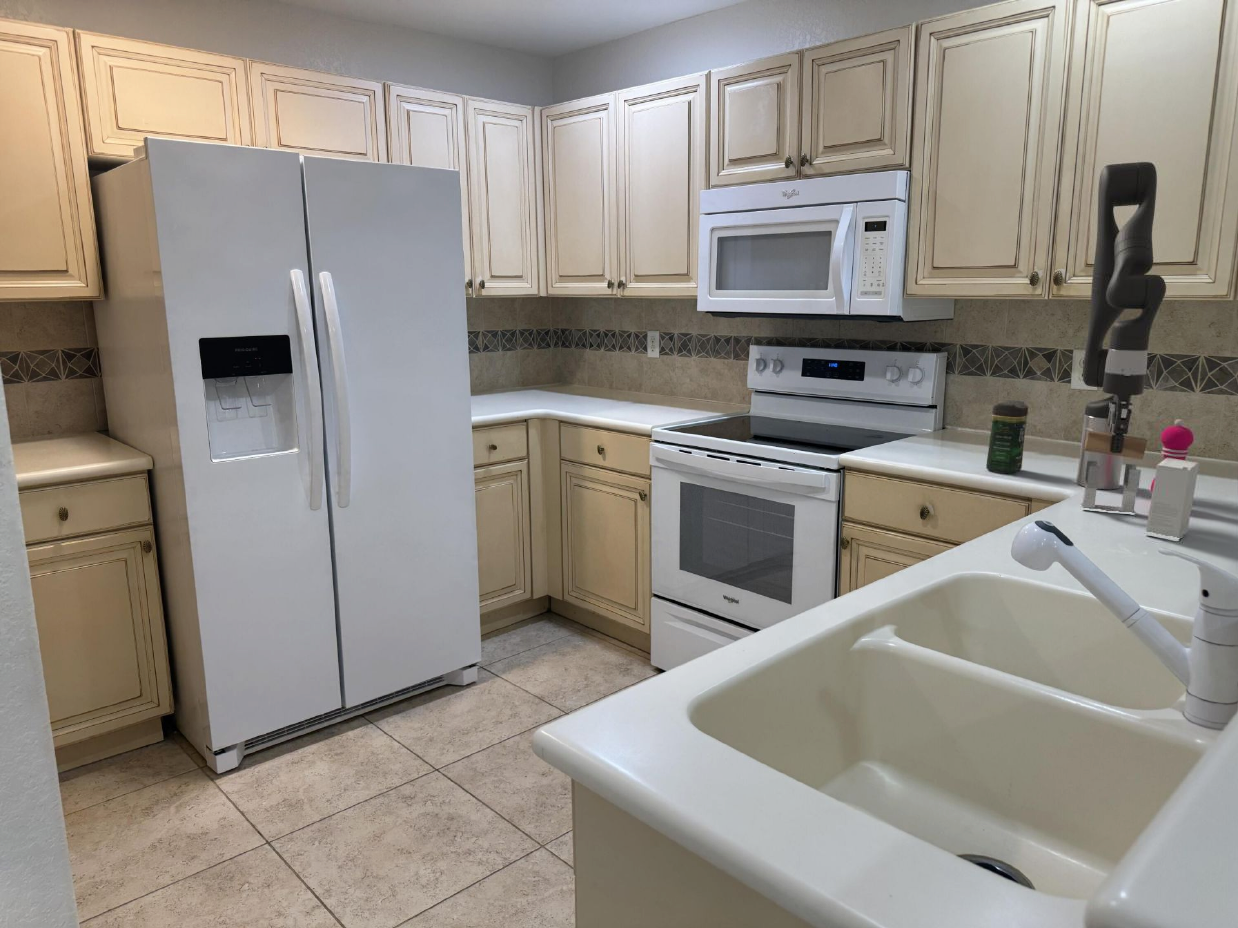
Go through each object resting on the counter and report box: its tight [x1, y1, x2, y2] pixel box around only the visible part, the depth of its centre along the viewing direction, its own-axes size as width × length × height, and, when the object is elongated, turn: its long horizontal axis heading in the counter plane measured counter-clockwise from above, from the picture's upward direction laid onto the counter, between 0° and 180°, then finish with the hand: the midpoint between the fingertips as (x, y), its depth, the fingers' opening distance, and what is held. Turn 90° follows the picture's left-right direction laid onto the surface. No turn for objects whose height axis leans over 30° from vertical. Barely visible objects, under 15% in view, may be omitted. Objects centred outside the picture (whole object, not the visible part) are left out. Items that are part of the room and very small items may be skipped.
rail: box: [1084, 430, 1148, 460], centre depth 186 cm, size 4×11×4 cm, turn 67°
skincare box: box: [1145, 458, 1200, 538], centre depth 169 cm, size 8×6×15 cm
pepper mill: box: [1150, 418, 1195, 493], centre depth 189 cm, size 7×7×20 cm
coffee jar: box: [985, 400, 1029, 474], centre depth 226 cm, size 10×8×19 cm
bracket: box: [1080, 460, 1142, 514], centre depth 187 cm, size 7×10×10 cm
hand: (1114, 450), depth 186 cm, fingers closed on rail, 3 cm apart
